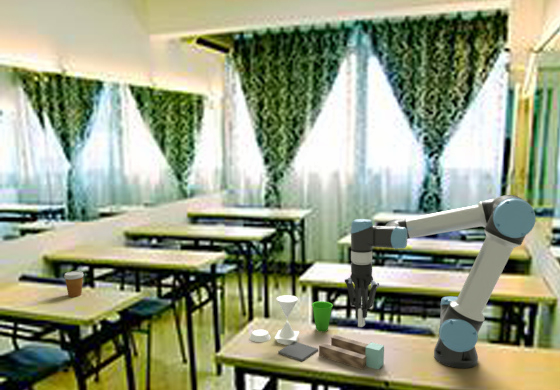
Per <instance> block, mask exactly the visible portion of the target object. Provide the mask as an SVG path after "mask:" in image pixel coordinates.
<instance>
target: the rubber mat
mask: <svg viewBox="0 0 560 390" xmlns="http://www.w3.org/2000/svg"><path fill="white" fill-rule="evenodd" d="M317 352H319V347H314V346H311V345H308V344H304V343H301V342H299V341H297V342H293V343H291V344H289V345H286V346H284V347H283V348H281V349H279V350H277V353H278V355H279V354H280V355H283V356H285V357H288V358H291V359H295V360H297V361H300V362H303V361H305V360H306V359H308V358H310V357H311V356H313V355H314V354H315V353H317Z"/></svg>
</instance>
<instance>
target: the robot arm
mask: <svg viewBox="0 0 560 390" xmlns="http://www.w3.org/2000/svg"><path fill="white" fill-rule="evenodd" d="M535 224H536V212H535V209H534V208H533V207H532V205H531V204H530V202H528V201H526V200H524V199H523V198H522V197H520V196H518V195H514V194H506V195H502V196H501V195H500V196H497V197H494V198H490V199H486V200H481V201H479V202H478V203H477V204H475V205H471V206H466V207H460V208H455V209H454V208H453V209H449V210H445V211H443V210H442V211H439V212H434V213H429V214H423V215H418V216H412V217H408V218H407V217H406V218H402V219H401V218H400V219H391V220H389V221H388V222H387V223H386V224H385V225H374V224H373V220H372V219H369V218H368V219H367V218H357V219H354V220H352V221H351V227H350V229H351V230H350V261H351V262H350V272H351V274H350V277H347V278H345V279H344V283H345V285H346V288H347V292H348V298H349V302H350V305H351V306H352V307H355V316H356V317H357V327H358V328H363V327H364V326H365V325H366V318H368V310H369V309H371V308H372V307H373V305H374V301H375V297H376V293H377V289H378V288H379V286H380V283H379V282H376V281H375V280H374V277H373V263H372V262H373V247H374V248H384V249H385V248H386V249H395V250H396V249H397V250H398V249H405V248H407V246H408V239H413V238H419V237H426V236H432V235H436V234H443V233H449V232H454V231H461V230H462V231H463V230H467V229H472V228H478V227H483V228H484V229H483V231H484V234H485V236H486V237H485V239H484V241H483V243H482V245H481V248H480V250H479V252H478V254H477V256H476V258H475V260H474V263H472V264H473V265H472V267H471V268H470V270H469V273H468V275H467V277H466V280H465V282H464V284H463V286H462V288H461V290H460V292H459V294H458V296H452V295H451V296H443V297H442V298H441V301H440V303H439V305H440V317H439V318H440V320H439V328H438V333H439V336H438V340H437V342H436V344H435V348H433V349H434V351H433V357H434V359H435V360H436V361H437V362H439V363H440V364H443V365H445V366H447V367H452V368H456V369H457V368H458V369H469V368H474V367H476V366H477V365H478V362H479V361H478V360H479V355H478V351H477V349H476V345H477V343H478V338H479V335H478V334H479V331H480V329H481V327H482V325H483V324H484V321H485V316H484V314H483V311H485V308H486V305H487V303H488V301H489V299H490V298H491V296H492V293H493V291H494V289H495V288H496V285H497V283H498V281H499V279H500V277H501V275H502V273H503V270H504V269H505V266H506V265H507V263H508V261H509V258H510V256H511V254H512V252H513V251H514V249H515V248H517V247H521V246H522V244H523V242H524V241H525V238H526V235H528V234H529V233H530V232H531V231H532V230H533V229H534V227H535ZM369 286H370V290H369Z"/></svg>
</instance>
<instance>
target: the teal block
mask: <svg viewBox="0 0 560 390" xmlns="http://www.w3.org/2000/svg"><path fill="white" fill-rule="evenodd" d="M367 344H368V345H367V346H366V352H365V355H366V367H369V368H371V369H376V370H380V368H382V367H383V365H384V362H385V345H384V344H379V343H376V342H372V341H371V342H370V343H367Z"/></svg>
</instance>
